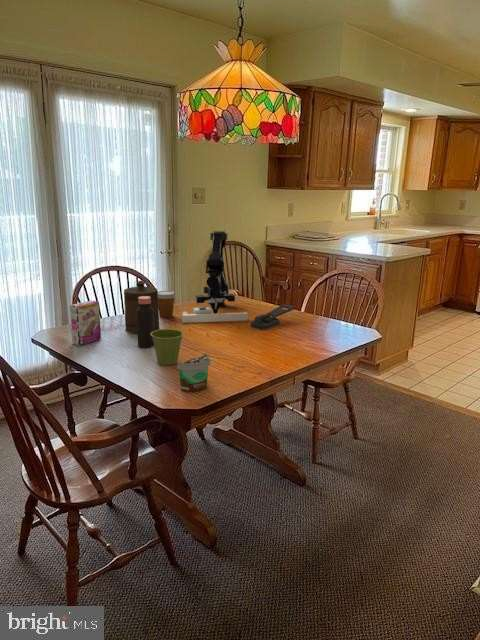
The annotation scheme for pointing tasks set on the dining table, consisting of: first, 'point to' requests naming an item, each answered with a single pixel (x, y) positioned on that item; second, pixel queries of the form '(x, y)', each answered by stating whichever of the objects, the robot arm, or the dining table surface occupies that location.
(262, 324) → the dark grey elongated piece
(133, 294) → the wooden container
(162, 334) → the plant pot
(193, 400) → the dining table surface
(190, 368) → the food container
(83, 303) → the candy bar box
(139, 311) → the bottle
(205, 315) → the cleat board
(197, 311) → the cabinet block
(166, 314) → the disposable coffee cup
